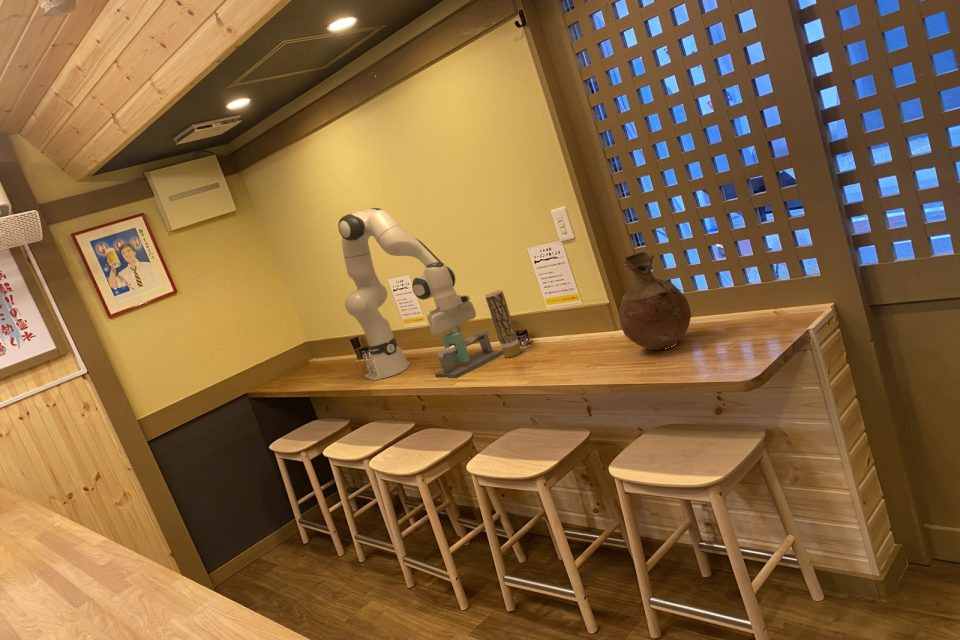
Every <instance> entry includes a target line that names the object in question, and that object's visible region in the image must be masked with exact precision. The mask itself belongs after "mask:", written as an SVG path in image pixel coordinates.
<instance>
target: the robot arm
mask: <svg viewBox="0 0 960 640" xmlns="http://www.w3.org/2000/svg"><path fill="white" fill-rule="evenodd" d="M337 226H338V231H339V234H340V236H341V247H342V253H343V254H342V255H343V259H344V264H345V267H346V271H347V275H348V277H349V278H351V280H352V281H353V282H354V284H355V287H356V290H354V291H352V292H351V293H350V294H349V295H347V297H346V298H345V301H344V308H345V310H346V312H347V313H348V314H349V315H350V316H352V317H354V318H355V320H356V321H357V322H358V323H359V325H360V326H361V328H362V330H363V333H364V334H365V337H366V340H367V344H368V347H367V348H368V351H369V354H370V355H369V357H368V360H367V361H366V365H365V369H366V371H368V373H366V374H365V375H364V378H365V379H367V380H371V381H374V382H376V381H379V380H382V379H386V378H388V377H392V376H395V375H398V374H400V373H402V372H404V371H406V370H407V369H408V368H409V366H410V365H411V363H410V361H408V360H407V359H406V356H405V354H404V352H403V349H402V348H401V347H399V346H398V342H397V339H396V337H394V334H393V330H392V328H391V325H390V322H389V320H387V319H386V318H385V317H384V316H383V315H382V314H381V312H380V311H379V309H378V308H380V307H382V306H383V304H384V303H385V302H386V301H387V298H388V290H387V288H386V287H385V285H383V284H382V283H381V282H380V281H381V280H380V279H379V278H378V276H377V273H376V271H375V268H374V264H373V259H372V255H371V250H370V246H369V239H370V238H371V237H373V238H374V239H375V241H376V242H377V243H378V245H379V246H380V248H381V249H382V250H383V251H384V252H385V253H386V254H387V255H390V256H395V257H403V256H404V257H412V258H415V259H418V260H419V261H420V262H421V264H422V265H424V266H425V267H424V270H423V271H422V272H421V273H420V274H418V276H416V277H415V278H414V279H413V281H412V284H411V287H412V291H413V294H414V295H415V297H416V298H418V299H419V300H422V301H423V300H428V299H431V298H433V301H434V303H435V307H436V308H434V309H433V310H430V311H429V312H428V313H427V317H426V318H427V320H428V324H429V330H430V333H431V334H432V335H433V336H438V335H441V334H444V333H445V332H447V331H449V333H461V334H462V335H463V333H462V331H463V324H464V323H467V322H469V321H470V320H474V319H475V318H476V317H477V313H476V309H475V307H474V305H473V303H472V301H470V300H471V299H470V295H469V294H468V295H460V294H459V295H457V291H456V290H455V288H454V287H455V286H456V285H455V284H456V274H455V273H454V271H453V270H452V269H451V268H450V267H449V266H447V265H446V264H445V263H444V262H442V261H441V260H440V259H439V258H438V257H437V256H436V255H435V254H434V253H433V252H432V250H430V248H428V246H426V244H424V243H423V242H422V241H421V240H419V239H418V238H415V237H414V236H413V235H412V236H411V234H409V233H408V232H406V230H404V229H403V228H402V227H401V225H400V224H399V223H398V222H397V220H396V219H395V218H394V217H393V216H392V215H391V214H390V213H389V212H387V211H386V210H384V209H382V208H377V207H372V208H369V209H361V210H358V211H356V212H353V213H347V214H346V215H343V216H342V217H341V218H340V219H339V221H338V225H337ZM455 328H457V332H456V331H455V330H456V329H455Z"/></svg>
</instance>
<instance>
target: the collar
mask: <svg viewBox="0 0 960 640" xmlns="http://www.w3.org/2000/svg"><path fill="white" fill-rule="evenodd" d="M440 336H441V338H442V339H441V340H442V342H443V346H444V349H445V348H447V347H449V346H451V345H452V344H455V346H456V349H457V352H455V353H452V354H450V355H449V358H450V361H451V363H458V362H467V361H469V360H470V358H469V357H470V355H469V353H468V349H467V347H466V346H465V343H464V340H463V339H464V336H463V333H462V334H461V333H457V332H456V333H451V332H449V333H442V335H441V334H440Z"/></svg>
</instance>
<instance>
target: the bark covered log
mask: <svg viewBox="0 0 960 640" xmlns="http://www.w3.org/2000/svg"><path fill="white" fill-rule="evenodd" d="M484 296H485V300H486V303H487V306H488V309H489V312H490V316H491V319H492V322H493V325H494V329H495V331H496V334H497V337H498V341H499V343H500V347H501V350H503V353H504V354H503V356H504V357H505V358H507V359H509V358H513V357H516V356H519V355H520V354H521V353H522V348H521V345H520V343H519V342H520V341H519V340H518V336H517V333H516V329H515V325H514V323H513V320H512V317H511V313H510V310H509V307H508V304H507V301H506V297H505V295H504V291H503V290H502V289H499V290H494V291H492V292H488V293H487V294H485V295H484Z"/></svg>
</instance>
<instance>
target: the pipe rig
mask: <svg viewBox="0 0 960 640" xmlns="http://www.w3.org/2000/svg"><path fill="white" fill-rule="evenodd" d="M463 340H464V343H465V346H466V348H467V347H469V346H471V345H472V344H475V343H476V342H479V344H480V349H481V351H483V353H491V352H493V351H494V350H493V348H492V347H493V346H492V343H491V341H490V337H489V331H488V330H487V329H486V328H485V329H483V330H480V331H478V332H476V333H474V334H472V335H470V336H467V337H466V338H463ZM455 352H457V349H456V346H455V344H452V345H451V346H449V347H447V348H445V347H444V348H442V349H441V350H439V351H436V357H437V359H438V360H439V362H440V365H441V368H442V370H443V371H444V373H451V372H453V371H454V370H453V367H452V365H453V364H452V362H451V361H450V358H449V355H450V354H452V353H455Z"/></svg>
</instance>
